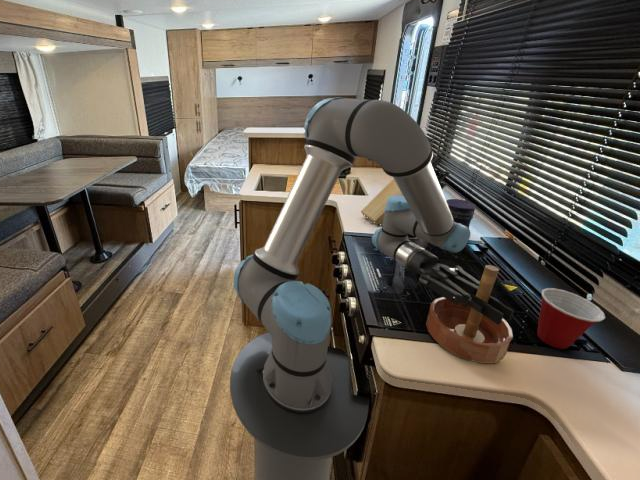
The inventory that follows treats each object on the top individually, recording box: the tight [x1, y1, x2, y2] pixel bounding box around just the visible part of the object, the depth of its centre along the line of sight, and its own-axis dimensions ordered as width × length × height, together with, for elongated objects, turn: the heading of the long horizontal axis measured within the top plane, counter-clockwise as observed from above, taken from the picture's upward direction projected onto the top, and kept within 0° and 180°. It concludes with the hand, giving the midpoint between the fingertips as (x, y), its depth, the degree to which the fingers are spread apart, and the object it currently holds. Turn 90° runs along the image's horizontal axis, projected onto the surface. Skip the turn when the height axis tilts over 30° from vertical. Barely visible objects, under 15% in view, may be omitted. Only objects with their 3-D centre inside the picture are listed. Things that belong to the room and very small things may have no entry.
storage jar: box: [446, 198, 477, 229], centre depth 122 cm, size 10×10×15 cm
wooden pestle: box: [454, 264, 500, 343], centre depth 71 cm, size 6×6×20 cm
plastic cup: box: [536, 287, 606, 350], centre depth 74 cm, size 11×11×12 cm
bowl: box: [425, 296, 514, 364], centre depth 77 cm, size 17×17×6 cm
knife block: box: [360, 155, 451, 226], centre depth 137 cm, size 11×35×31 cm, turn 103°
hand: (506, 317), depth 66 cm, fingers closed on wooden pestle, 2 cm apart
